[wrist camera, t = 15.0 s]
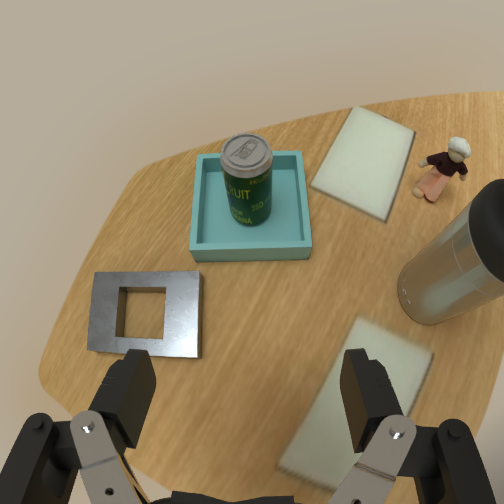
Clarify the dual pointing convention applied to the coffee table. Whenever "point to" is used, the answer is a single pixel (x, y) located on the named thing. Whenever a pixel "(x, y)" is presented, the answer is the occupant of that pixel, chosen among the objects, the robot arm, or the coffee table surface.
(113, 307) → the gray rectangular block
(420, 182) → the grandmother figurine
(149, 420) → the coffee table surface
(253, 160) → the beer can
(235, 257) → the tray
